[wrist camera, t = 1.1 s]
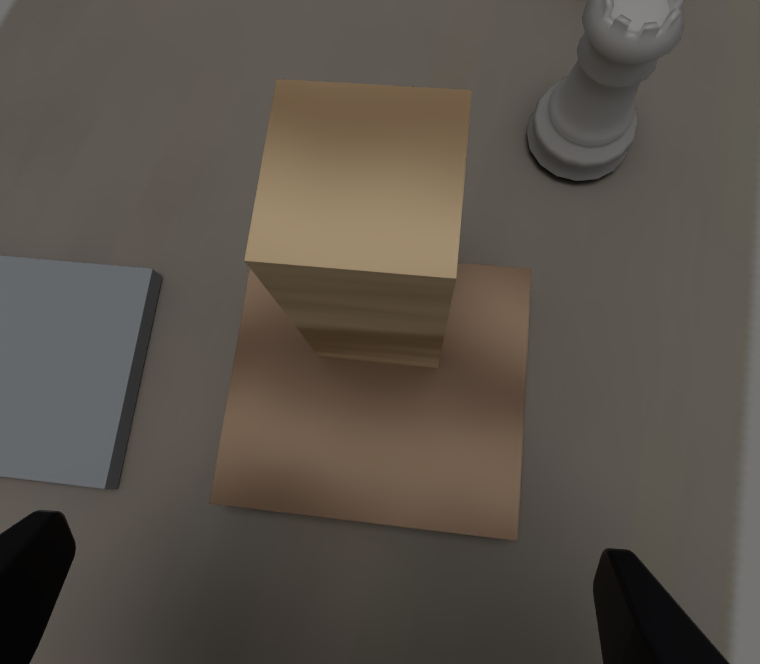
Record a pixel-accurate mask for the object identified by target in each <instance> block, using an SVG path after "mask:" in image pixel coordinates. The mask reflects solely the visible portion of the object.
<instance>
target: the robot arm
mask: <svg viewBox="0 0 760 664" xmlns="http://www.w3.org/2000/svg"><path fill="white" fill-rule="evenodd" d="M75 550H76V545H75V540H74V538H73V535H72V533H71V530H70V528H69V525H68V523H67V520H66V518H65V516H64V514H63V513H61V512H59V511H49V510H38V511H35V512H33V513H31V514H29V515H28V516H26V517H25V518H23V519H22V520H21V521H19V522H18V523H16V524H15V525H13V526H12V527H10V528H9V529H7V530H6V531H4V532H3V533H1V534H0V664H29V663H30V661H31V659H32V657H33V655H34V653H35V651H36V649H37V647H38V645H39V643H40V640H41V638H42V636H43V633H44V631H45V629H46V626H47V624H48V621H49V619H50V616H51V614H52V611H53V609H54V606H55V604H56V601H57V599H58V596H59V594H60V591H61V589H62V586H63V584H64V581H65V579H66V576H67V574H68V571H69V569H70V566H71V564H72V561H73V559H74V556H75ZM593 595H594V602H595V609H596V616H597V623H598V630H599V636H600V643H601V650H602V657H603V664H729V662H728V661H727V660H726V659H725V658H724V657H723V655H722V654H721V653H720V652H719V651H718V650H717V649H716V647H715V646H714V645H713V644H712V643H711V642H710V640H709V639H708V638H707V637H706V636H705V635H704V633H703V632H702V631H701V630H700V629H699V628H698V627H697V625H696V624H695V623H694V622H693V621H692V620H691V618H690V617H689V616H688V615H687V614H686V613H685V612H684V610H683V609H682V608H681V607H680V606H679V605H678V603H677V602H676V601H675V600H674V599H673V598H672V596H671V595H670V594H669V593H668V592H667V591H666V590H665V588H664V587H663V586H662V585H661V584H660V583H659V581H658V580H657V579H656V578H655V577H654V576H653V575H652V573H651V572H650V571H649V570H648V569H647V568H646V566H645V565H644V564H643V563H642V562H641V561H640V559H639V558H638V557H637V556H636V555H635V554H634V553H633V552H631V551H630V550H626V549H612V548H607V549H605V550H604V551H603V552H602V554H601V558H600V561H599V564H598V568H597V571H596V574H595V578H594V582H593Z"/></svg>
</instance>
